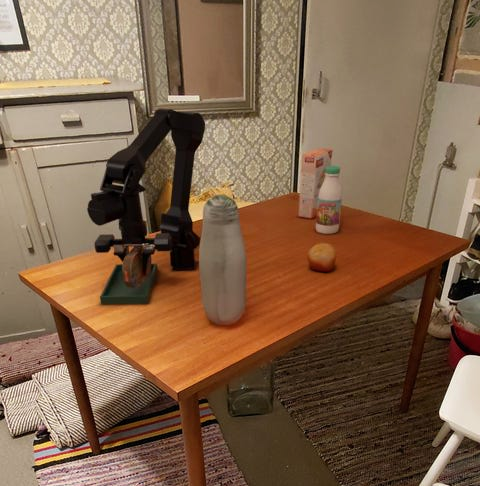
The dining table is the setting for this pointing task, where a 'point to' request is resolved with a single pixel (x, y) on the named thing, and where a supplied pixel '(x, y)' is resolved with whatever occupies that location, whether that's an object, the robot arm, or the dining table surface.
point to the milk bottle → (329, 202)
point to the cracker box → (312, 180)
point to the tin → (135, 268)
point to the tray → (127, 288)
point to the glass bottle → (222, 261)
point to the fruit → (322, 257)
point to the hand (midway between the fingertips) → (139, 275)
